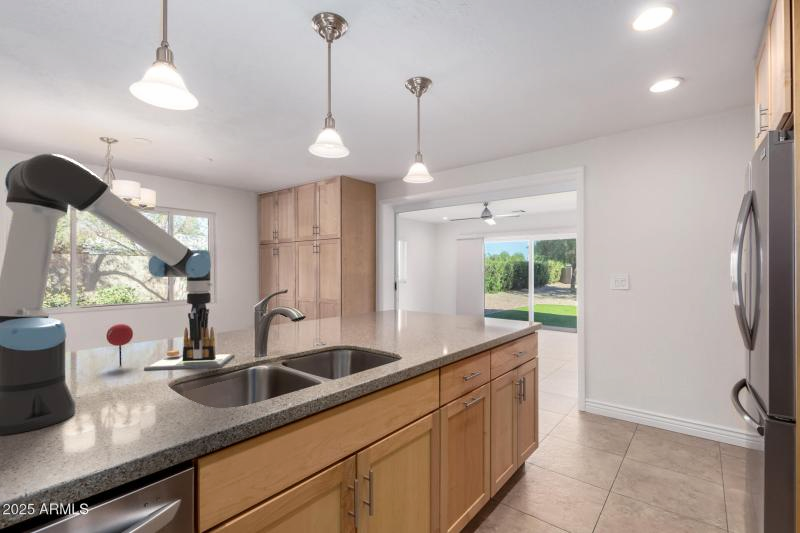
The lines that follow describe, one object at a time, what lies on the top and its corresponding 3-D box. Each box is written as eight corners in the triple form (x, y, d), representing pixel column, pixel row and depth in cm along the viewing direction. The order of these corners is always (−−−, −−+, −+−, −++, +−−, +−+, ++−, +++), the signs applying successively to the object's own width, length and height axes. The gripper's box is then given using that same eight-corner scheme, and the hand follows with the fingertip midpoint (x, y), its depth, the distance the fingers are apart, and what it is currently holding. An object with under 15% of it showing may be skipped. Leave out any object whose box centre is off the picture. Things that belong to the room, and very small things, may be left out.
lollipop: (110, 364, 137) (109, 323, 137) (135, 361, 140) (135, 322, 140) (103, 369, 130) (103, 326, 130) (130, 366, 133) (130, 325, 133)
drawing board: (220, 367, 132) (220, 363, 132) (144, 370, 129) (144, 366, 129) (234, 356, 148) (234, 353, 148) (166, 358, 144) (166, 355, 144)
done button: (176, 355, 140) (176, 352, 140) (165, 356, 139) (165, 352, 139) (181, 353, 144) (181, 350, 144) (170, 353, 143) (170, 350, 143)
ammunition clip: (215, 358, 136) (215, 326, 136) (213, 360, 135) (213, 326, 135) (184, 360, 135) (184, 326, 135) (182, 361, 133) (182, 327, 133)
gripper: (201, 293, 128) (202, 362, 128) (217, 291, 143) (217, 352, 143) (178, 294, 127) (178, 363, 127) (196, 291, 142) (196, 353, 142)
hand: (199, 357), depth 135 cm, fingers closed on ammunition clip, 2 cm apart
